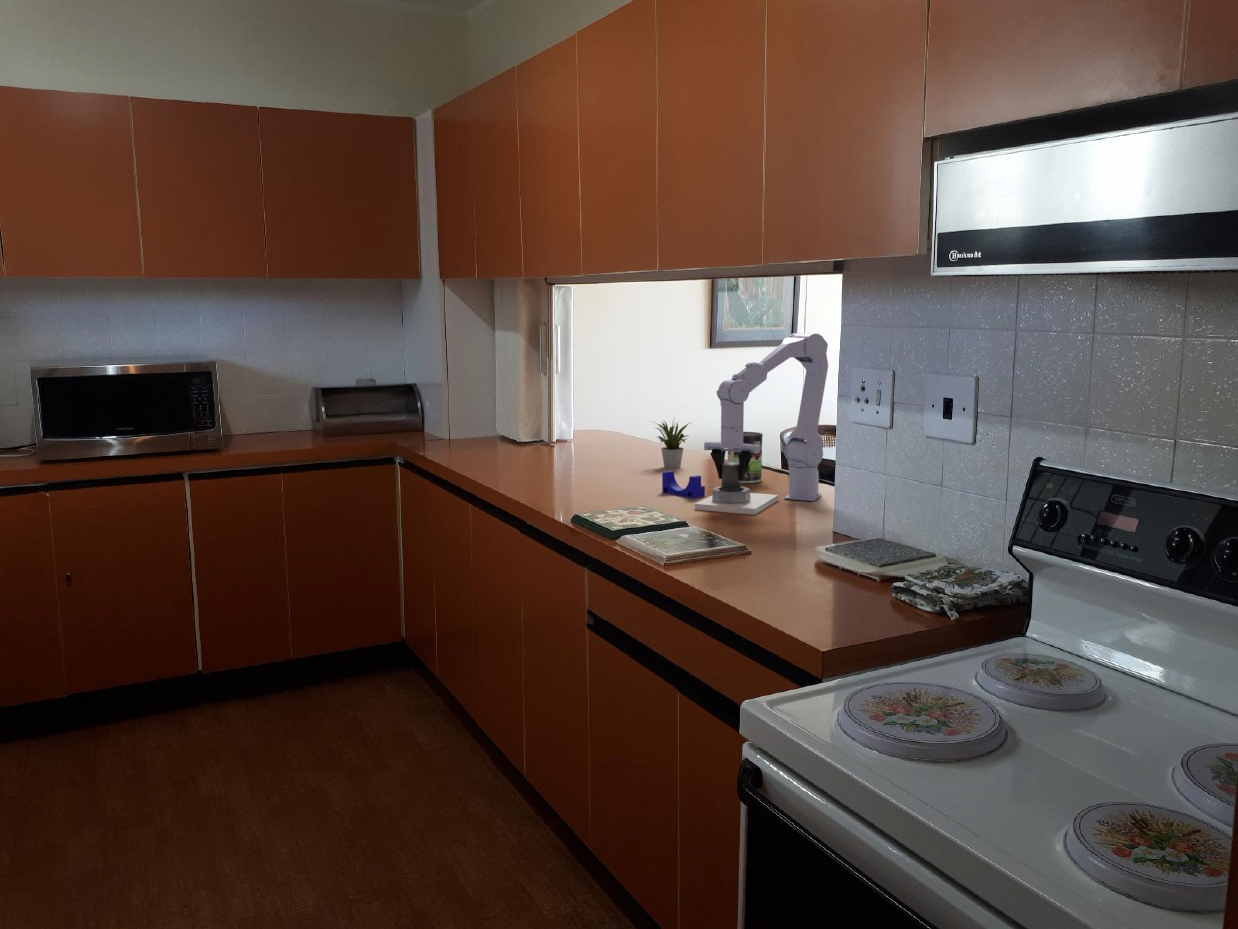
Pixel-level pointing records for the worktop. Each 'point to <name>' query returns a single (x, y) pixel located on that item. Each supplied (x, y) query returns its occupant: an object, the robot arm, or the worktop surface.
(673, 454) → the house plant
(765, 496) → the socket board
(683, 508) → the worktop surface
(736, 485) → the dark gray cylinder
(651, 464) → the worktop surface
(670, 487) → the blue u-shaped cradle block
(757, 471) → the coffee can
